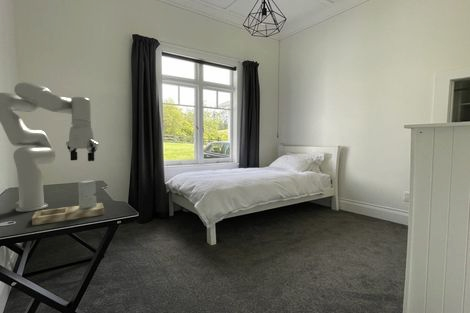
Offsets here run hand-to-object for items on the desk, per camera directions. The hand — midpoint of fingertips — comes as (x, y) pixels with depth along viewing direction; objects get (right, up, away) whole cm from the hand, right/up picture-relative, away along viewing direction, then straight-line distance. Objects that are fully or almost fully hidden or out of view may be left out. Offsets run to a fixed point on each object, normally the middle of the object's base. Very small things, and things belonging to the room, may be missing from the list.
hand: (82, 160), depth 115 cm
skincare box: (+3, -22, 0) cm, 22 cm away
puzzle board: (-3, -25, -4) cm, 26 cm away
